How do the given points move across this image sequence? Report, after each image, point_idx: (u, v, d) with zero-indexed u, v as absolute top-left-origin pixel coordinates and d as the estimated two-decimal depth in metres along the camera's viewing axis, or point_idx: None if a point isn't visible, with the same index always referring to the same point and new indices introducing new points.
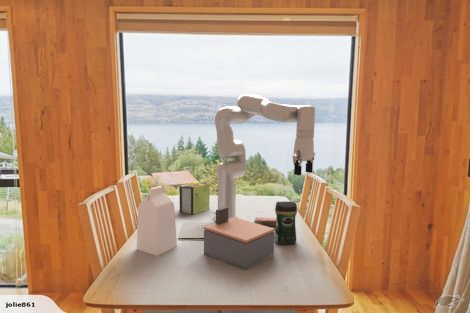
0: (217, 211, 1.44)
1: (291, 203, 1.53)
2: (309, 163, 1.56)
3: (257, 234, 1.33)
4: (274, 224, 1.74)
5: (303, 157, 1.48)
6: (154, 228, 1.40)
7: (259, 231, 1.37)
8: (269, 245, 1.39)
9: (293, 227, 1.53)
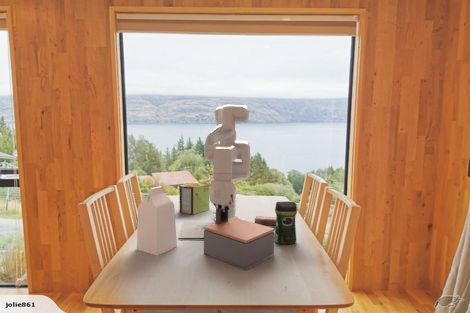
0: (217, 211, 1.44)
1: (291, 203, 1.53)
2: None
3: (257, 234, 1.33)
4: (273, 223, 1.76)
5: None
6: (154, 228, 1.40)
7: (259, 231, 1.37)
8: (269, 245, 1.39)
9: (293, 227, 1.53)
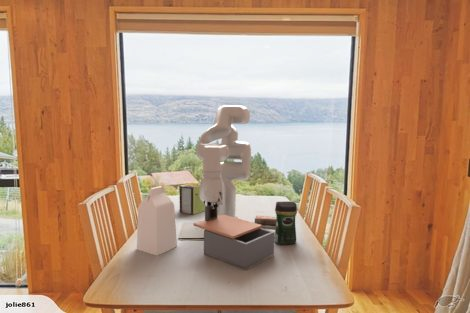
0: (206, 208, 1.48)
1: (291, 203, 1.53)
2: None
3: (244, 230, 1.37)
4: (273, 223, 1.76)
5: None
6: (154, 228, 1.40)
7: (246, 227, 1.41)
8: (269, 245, 1.39)
9: (293, 227, 1.53)
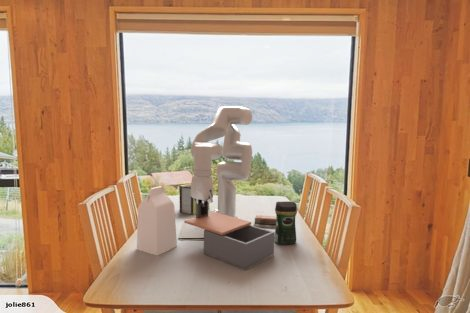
0: (197, 205, 1.52)
1: (291, 203, 1.53)
2: None
3: (233, 227, 1.41)
4: (273, 222, 1.77)
5: None
6: (154, 228, 1.40)
7: (236, 224, 1.45)
8: (269, 245, 1.39)
9: (293, 227, 1.53)
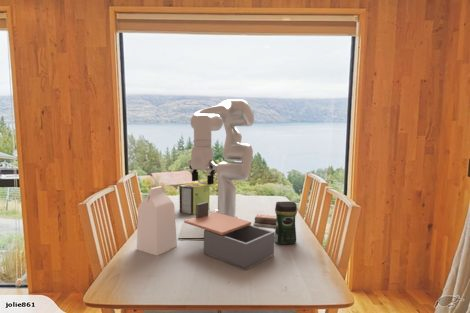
0: (197, 205, 1.52)
1: (291, 203, 1.53)
2: (195, 171, 1.56)
3: (233, 227, 1.41)
4: (273, 222, 1.78)
5: None
6: (154, 228, 1.40)
7: (236, 224, 1.45)
8: (269, 245, 1.39)
9: (293, 227, 1.53)
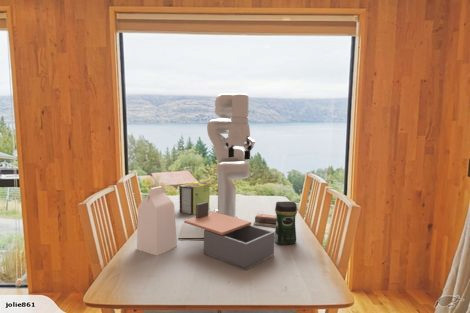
0: (197, 205, 1.52)
1: (291, 203, 1.53)
2: (232, 148, 1.64)
3: (233, 227, 1.41)
4: (272, 221, 1.79)
5: None
6: (154, 228, 1.40)
7: (236, 224, 1.45)
8: (269, 245, 1.39)
9: (293, 227, 1.53)
